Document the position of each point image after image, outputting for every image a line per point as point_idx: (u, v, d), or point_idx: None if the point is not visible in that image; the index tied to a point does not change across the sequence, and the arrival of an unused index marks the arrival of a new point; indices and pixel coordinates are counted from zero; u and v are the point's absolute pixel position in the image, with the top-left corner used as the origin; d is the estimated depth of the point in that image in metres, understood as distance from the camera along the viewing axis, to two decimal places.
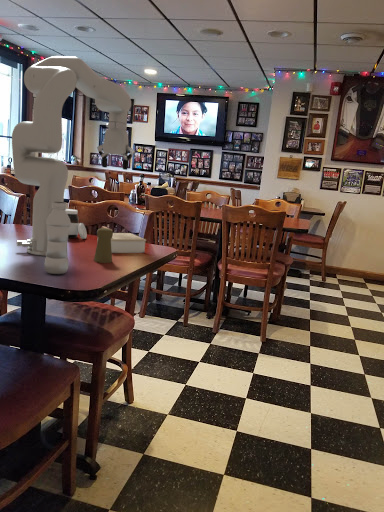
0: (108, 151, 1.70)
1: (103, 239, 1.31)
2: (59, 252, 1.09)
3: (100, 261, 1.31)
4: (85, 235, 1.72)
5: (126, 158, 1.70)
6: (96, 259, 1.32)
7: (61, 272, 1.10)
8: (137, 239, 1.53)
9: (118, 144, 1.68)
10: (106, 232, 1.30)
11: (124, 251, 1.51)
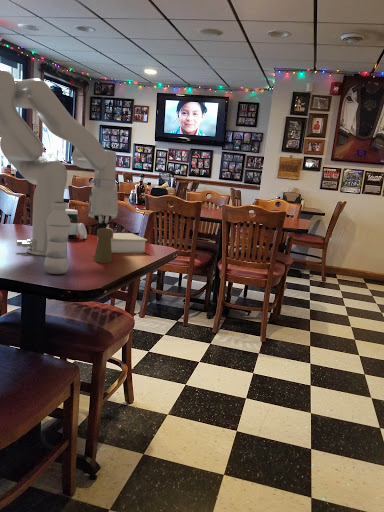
0: (100, 213, 1.47)
1: (103, 239, 1.31)
2: (59, 252, 1.09)
3: (100, 261, 1.31)
4: (85, 235, 1.72)
5: (106, 222, 1.51)
6: (96, 259, 1.32)
7: (61, 272, 1.10)
8: (138, 239, 1.53)
9: (111, 204, 1.49)
10: (106, 232, 1.30)
11: (124, 251, 1.51)
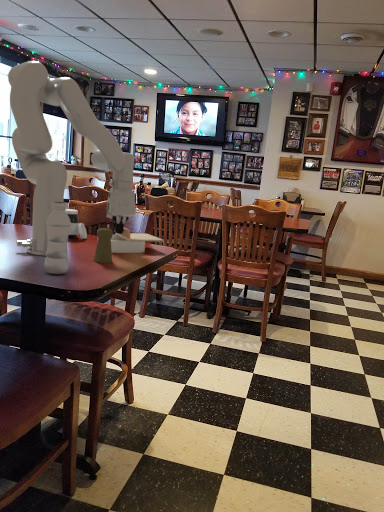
0: (118, 213, 1.51)
1: (103, 239, 1.31)
2: (59, 252, 1.09)
3: (100, 261, 1.31)
4: (85, 235, 1.72)
5: (124, 222, 1.54)
6: (96, 259, 1.32)
7: (61, 272, 1.10)
8: (154, 239, 1.57)
9: (129, 205, 1.52)
10: (106, 232, 1.30)
11: (124, 251, 1.51)
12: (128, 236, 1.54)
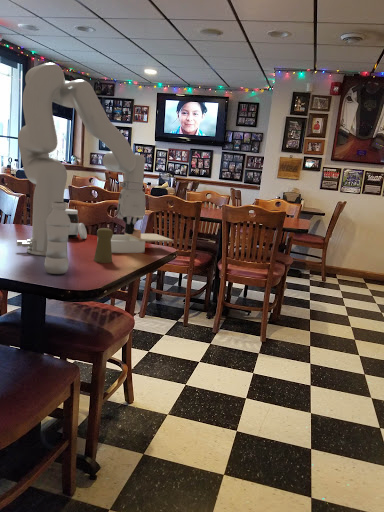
0: (128, 214, 1.53)
1: (103, 238, 1.31)
2: (59, 252, 1.09)
3: (100, 261, 1.31)
4: (85, 235, 1.72)
5: (134, 223, 1.57)
6: (96, 259, 1.32)
7: (61, 272, 1.10)
8: (164, 239, 1.59)
9: (139, 206, 1.55)
10: (106, 232, 1.30)
11: (124, 251, 1.51)
12: (138, 236, 1.56)
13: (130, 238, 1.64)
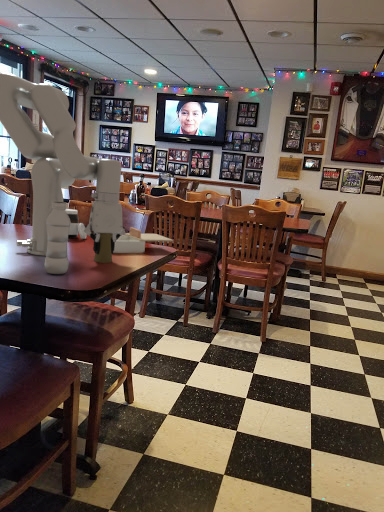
0: (102, 230, 1.29)
1: (103, 238, 1.31)
2: (59, 252, 1.09)
3: (100, 261, 1.31)
4: (85, 235, 1.72)
5: (115, 240, 1.33)
6: (96, 259, 1.32)
7: (61, 272, 1.10)
8: (164, 239, 1.59)
9: (115, 221, 1.30)
10: None
11: (124, 251, 1.51)
12: (138, 236, 1.56)
13: (130, 238, 1.64)
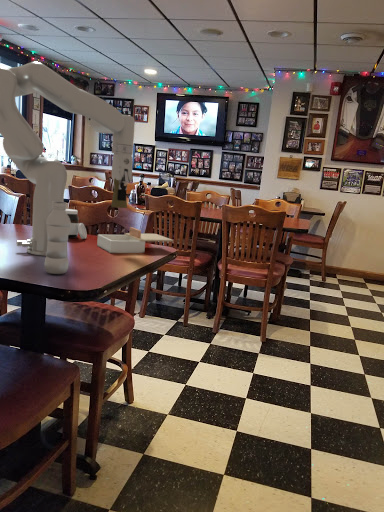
0: None
1: None
2: (59, 252, 1.09)
3: (126, 206, 1.52)
4: (85, 235, 1.72)
5: None
6: (124, 205, 1.50)
7: (61, 272, 1.10)
8: (164, 239, 1.59)
9: None
10: None
11: (124, 251, 1.51)
12: (138, 236, 1.56)
13: (130, 238, 1.64)
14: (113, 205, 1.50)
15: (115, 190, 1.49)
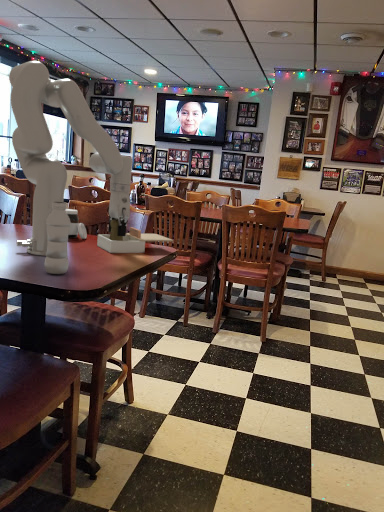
0: None
1: None
2: (59, 252, 1.09)
3: None
4: (85, 235, 1.72)
5: None
6: None
7: (61, 272, 1.10)
8: (164, 239, 1.59)
9: None
10: None
11: (124, 251, 1.51)
12: (138, 236, 1.56)
13: (130, 238, 1.64)
14: None
15: (112, 232, 1.53)
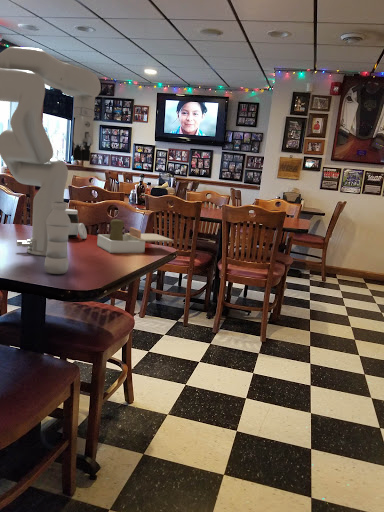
0: None
1: None
2: (59, 252, 1.09)
3: None
4: (85, 235, 1.72)
5: (80, 148, 1.59)
6: None
7: (61, 272, 1.10)
8: (164, 239, 1.59)
9: None
10: None
11: (124, 251, 1.51)
12: (138, 236, 1.56)
13: (130, 238, 1.64)
14: None
15: (112, 232, 1.53)
